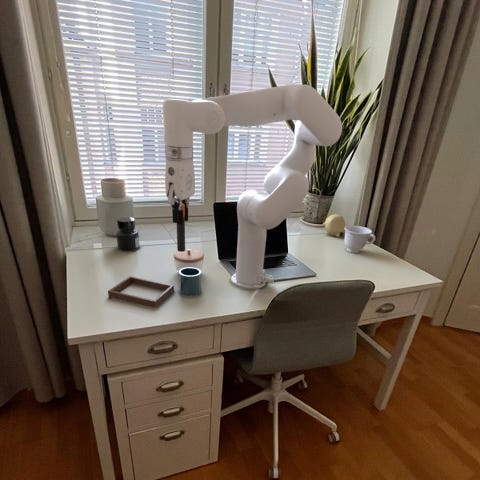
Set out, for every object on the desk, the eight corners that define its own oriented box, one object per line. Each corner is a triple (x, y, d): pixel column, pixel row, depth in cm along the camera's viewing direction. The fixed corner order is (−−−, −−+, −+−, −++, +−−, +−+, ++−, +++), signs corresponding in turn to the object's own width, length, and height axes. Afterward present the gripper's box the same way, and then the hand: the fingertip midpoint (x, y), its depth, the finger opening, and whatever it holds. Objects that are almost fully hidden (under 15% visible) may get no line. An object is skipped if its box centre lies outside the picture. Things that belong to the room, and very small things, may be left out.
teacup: (362, 259, 151) (368, 237, 146) (334, 249, 161) (339, 227, 155) (377, 254, 158) (383, 232, 153) (349, 244, 168) (354, 223, 162)
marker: (186, 249, 108) (186, 203, 101) (183, 252, 106) (182, 205, 99) (179, 248, 109) (178, 202, 101) (175, 251, 107) (174, 204, 99)
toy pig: (330, 244, 177) (348, 234, 170) (317, 224, 175) (336, 212, 168) (335, 238, 184) (352, 228, 177) (323, 219, 182) (341, 208, 175)
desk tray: (174, 292, 115) (173, 285, 114) (155, 309, 105) (155, 301, 104) (130, 283, 119) (129, 276, 118) (108, 298, 109) (107, 291, 108)
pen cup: (204, 289, 118) (204, 269, 114) (195, 298, 112) (195, 277, 108) (185, 286, 120) (184, 265, 116) (176, 294, 114) (175, 273, 110)
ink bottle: (143, 249, 146) (140, 221, 139) (122, 253, 141) (118, 224, 135) (135, 242, 152) (132, 215, 146) (114, 245, 148) (111, 217, 141)
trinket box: (206, 279, 125) (206, 254, 120) (176, 281, 122) (175, 256, 117) (200, 267, 134) (200, 243, 129) (172, 269, 131) (171, 245, 126)
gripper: (178, 158, 86) (179, 231, 95) (203, 152, 99) (203, 217, 109) (151, 154, 87) (155, 227, 97) (179, 149, 101) (181, 213, 110)
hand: (180, 221), depth 103 cm, fingers closed on marker, 2 cm apart
